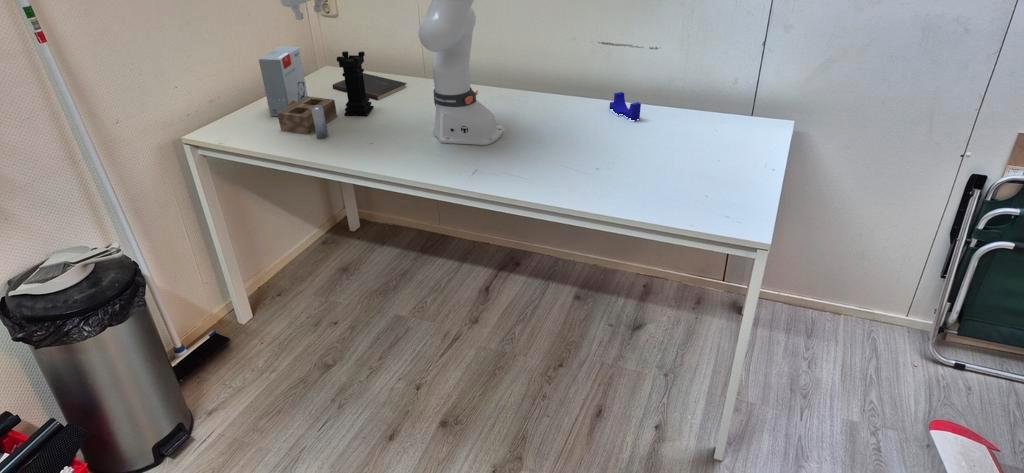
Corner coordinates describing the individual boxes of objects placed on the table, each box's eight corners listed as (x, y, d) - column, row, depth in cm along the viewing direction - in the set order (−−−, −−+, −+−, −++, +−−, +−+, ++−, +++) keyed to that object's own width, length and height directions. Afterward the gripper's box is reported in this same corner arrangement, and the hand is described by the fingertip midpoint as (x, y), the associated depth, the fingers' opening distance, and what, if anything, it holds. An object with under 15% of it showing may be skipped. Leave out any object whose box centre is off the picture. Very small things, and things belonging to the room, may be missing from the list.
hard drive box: (290, 117, 223) (278, 60, 213) (269, 116, 224) (256, 59, 214) (309, 101, 236) (299, 46, 226) (289, 100, 237) (278, 45, 227)
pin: (330, 135, 210) (325, 105, 205) (324, 139, 207) (318, 109, 202) (320, 133, 211) (315, 104, 206) (314, 138, 208) (308, 108, 203)
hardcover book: (363, 78, 258) (362, 72, 257) (407, 88, 247) (406, 82, 246) (332, 90, 247) (331, 84, 246) (377, 102, 236) (376, 95, 235)
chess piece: (373, 107, 230) (365, 51, 219) (367, 116, 223) (358, 58, 212) (351, 107, 230) (342, 50, 220) (344, 116, 224) (334, 58, 213)
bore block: (337, 116, 223) (334, 99, 220) (309, 134, 211) (305, 117, 208) (310, 112, 227) (306, 96, 224) (281, 130, 214) (277, 113, 211)
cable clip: (609, 110, 224) (610, 93, 221) (620, 108, 225) (622, 91, 222) (627, 123, 215) (628, 105, 211) (639, 121, 216) (640, 103, 213)
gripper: (289, -25, 184) (297, 25, 191) (330, -38, 200) (336, 8, 207) (270, -27, 186) (279, 22, 193) (313, -40, 202) (319, 6, 209)
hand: (309, 15), depth 200 cm, fingers open, 8 cm apart
